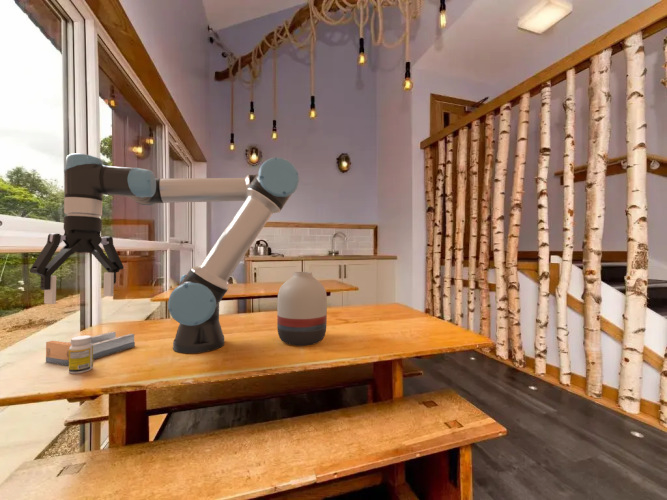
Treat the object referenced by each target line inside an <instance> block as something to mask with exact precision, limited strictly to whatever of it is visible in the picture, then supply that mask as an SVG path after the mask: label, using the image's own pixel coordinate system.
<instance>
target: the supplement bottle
mask: <svg viewBox="0 0 667 500" xmlns="http://www.w3.org/2000/svg"><path fill="white" fill-rule="evenodd" d="M91 337H92V335H88V334H87V335H86V334H85V335H77V336H74V337H72V338H71V339H70V342H71V345H72V346H70V348H69V366H68V373H69V374H71V375H72V374H73V375H74V374H82V373H87V372H89V371H91V370H92V369H93V367H94V360H93V344H92V343H90V342H91Z"/></svg>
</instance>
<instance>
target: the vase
mask: <svg viewBox="0 0 667 500" xmlns="http://www.w3.org/2000/svg"><path fill="white" fill-rule="evenodd" d="M278 289H279V291H278V292H277V293H278V294H277V309H276V311H277V312H276V313H277V320H276V321H277V322H276V323H277V327H276V329H277V333H278V337H279V340H280V341H281V342H283V344H284V343H285V344H286V345H287V344H288V345H290V346H296V347H297V346H298V347H299V346H300V347H301V346H304V347H305V346H312V345H315V344H318V343H320V342H321V341H323V340H324V338H325V335H326V332H327V324H328V323H327V317H328V316H327V314H328V313H327V312H328V311H327V310H328V307H327V306H328V305H327V304H328V303H327V302H328V298H327V297H328V296H327V291H326V288H325V286H324V285H323V283H321V282H320V281H319V280H318V279H317V278H315V276H314V275H313V273H312V272H311V271H294V272H292V276H291V277H290V278H288V279H287V280H285V282H284V283H283V284H282V285H281V286H280V287H279V288H278Z"/></svg>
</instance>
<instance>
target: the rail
mask: <svg viewBox="0 0 667 500" xmlns="http://www.w3.org/2000/svg"><path fill="white" fill-rule="evenodd" d="M116 333H117V332H116V331H109V332H105V333H100V334H97V335H91V342H90V343H92V344H93V361H95V360H97V359H100V358H103V357H106V356H109V355H112V354H116V353H119V352H122V351H125V350H129V349H132V348H135V347H136V346H135V345H136V341H135V333H128V334H123V335H121V336H116V335H117V334H116ZM70 346H72V345H71V341H69V342H66V341H59V340H58V341H57V340H50V341H45V363H47V364H53V365H58V366H59V365H60V366H66V367H69V348H70Z"/></svg>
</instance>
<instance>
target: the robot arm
mask: <svg viewBox="0 0 667 500" xmlns="http://www.w3.org/2000/svg"><path fill="white" fill-rule="evenodd" d="M63 172H64V208H63V213H64V214H65V216H64V217H63V231H64V234H60V233H49V234H48V235H47V241H46V244H45V245H44V247H43V248H42V250H41V251H40V253H39V255H38V256H37V257H36V259H35V261H34V262H33V264H32V265H31V267H30V269H29V272H30V273H31V274H35V275H38V276H39V277H40V289H41V290H43V292H44V294H43V297H44V299H43V303H44V305H45V304H46V305H55V304H56V303H57V275H53V274H54V273H56V271H57V270H58V269H59V268H60V267H61V266H62V265H63V264H64V263H65V262H66V261H67V260H68V259H69V257H71V256H72V255H74V254H75V253H77V254H84V253H87V254H91V255H93V256H94V258H95V259H96V260H97V261H98V262H99V264H101V266H102V267H103V268H104V269H105V270H106V271H105V272H103V291H102V292H103V293H102V294H103V297H114V288H115V287H114V285H115V284H116V283H117V273H119V272H120V271H121V270H123V269H124V267H125V266H124V265H123V263H122V260H121V258H120V257H119V254H118V251H117V250H116V247H115V245H114V238H113V237H112V236H101V232H102V229H103V227H102V226H103V225H102V223H103V222H102V221H103V220H102V219H101V218H100V217H102V216H103V196H104V195H105V196H118V197H119V196H121V197H127V198H129V199H131V200H132V201H134V202H136V203H138V204H139V205H142V206H153V205H156V204H168V203H169V204H171V203H173V204H174V203H208V202H209V203H213V202H243V203H242V205H241V206H240V208H239V209H238V211H237V212H236V213H235V214H234V216H233V218H232V219H231V221H230V222H229V224H228V225H227V226H226V228H225V229H224V230H223V232H222V233H221V235H220V236H219V238H218V239H217V241H216V242H215V243H214V245H213V246H212V248H211V249H210V251H209V252H208V253H207V255H206V256H205V258H204V259H203V261H202V262H201V264H200V265H198V266H193V267H191V268H190V269H189V270H188V272H187V273H186V274H183V275H181V276H180V280H179V285H178V286H177V287H175V288H174V289H173V290H172V291H171V293H170V295H169V298H168V302H167V308H168V312H169V314H170V316H171V317H172V319H174V321H176V323H179V325H178V328H177V330H176V332H175V333H176V334H175V338H174V339H173V343H172V349H173V351H174V352H177V353H181V354H197V353H205V352H210V351H215V350H218V349H220V348H221V347H223V346H224V345H225V335H224V334H223V333H224V332H223V329H222V325H221V323H220V302H221V301H222V299H223V298H224V296H225V295H226V293H227V292H228V291H229V287H228V286H229V285H228V281H229V280H230V278H231V277H232V275H233V273H234V272H235V271H236V269H237V267H238V266H239V264H240V263H241V262H242V260H243V258H244V257H245V256H246V254H247V252H248V251H249V249H250V248H251V247H252V245H253V244H254V242H255V241H256V239H257V238H258V236H259V235H260V233H261V231H263V229H264V227H265V225H266V224H267V222H268V221H269V219H270V218H271V217H272V215H273V214H276V213H277V214H278V213H280V212H281V211H282V210H283V208H284V207H285V205H286V203H287V202H288V200H289V199H290V197H291V196H292V195H293V194H294V193H295V192H296V191H297V189H298V186H299V182H300V177H299V173H298V170H297V168H296V166H295V165H294V164H293V163H292V162H291V161H290V160H288V159H285V158H283V157H278V156H276V157H270V158H269V159H266V160H265V161H264V162H263V163H262V164H261V165H260V166H259V169H258V172H257V174H247V175H246V176H245V177H218V178H217V177H215V178H214V177H212V178H211V177H204V178H201V177H199V178H198V177H197V178H196V177H194V178H193V177H191V178H187V177H185V178H183V177H181V178H156V176H155V173H154V171H152V170H151V169H146V168H141V167H128V166H127V167H126V166H125V167H124V166H111V165H104V160H102V158H100V157H98V156H95V155H91V154H85V153H70V154H68V155H66V158H65V165H64V170H63ZM61 243H64V246H63V247H62V248H61V249H60V250H59V252H58V253H57V254H56V255H55V256H54V254H55V252H56V251H57V250H58V248H59V246H60V244H61ZM100 244H101V245H102V247H103V248H102V247H101V246H100ZM53 256H54V257H53Z"/></svg>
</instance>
